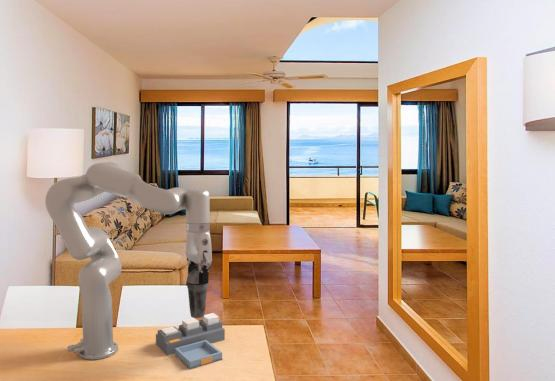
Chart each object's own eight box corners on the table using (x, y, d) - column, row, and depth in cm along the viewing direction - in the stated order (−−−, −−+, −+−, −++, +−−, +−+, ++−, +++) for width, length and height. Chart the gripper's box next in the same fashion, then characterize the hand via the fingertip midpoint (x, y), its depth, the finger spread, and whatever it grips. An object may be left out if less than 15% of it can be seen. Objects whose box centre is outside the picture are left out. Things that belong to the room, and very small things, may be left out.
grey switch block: (167, 355, 157) (166, 332, 156) (155, 344, 165) (155, 323, 164) (224, 339, 170) (224, 318, 169) (211, 330, 178) (211, 310, 177)
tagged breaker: (166, 340, 159) (166, 333, 159) (161, 335, 162) (161, 329, 162) (178, 337, 161) (178, 330, 161) (172, 332, 165) (172, 326, 165)
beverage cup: (181, 315, 154) (181, 256, 151) (199, 309, 159) (199, 252, 157) (195, 321, 149) (195, 260, 147) (213, 315, 154) (213, 256, 152)
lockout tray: (190, 369, 148) (190, 362, 147) (174, 355, 157) (174, 348, 157) (222, 359, 154) (222, 352, 154) (205, 346, 164) (205, 339, 163)
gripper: (221, 230, 146) (221, 285, 148) (196, 222, 160) (196, 272, 162) (199, 233, 142) (199, 290, 144) (175, 224, 156) (176, 276, 158)
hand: (198, 280), depth 153 cm, fingers closed on beverage cup, 7 cm apart
